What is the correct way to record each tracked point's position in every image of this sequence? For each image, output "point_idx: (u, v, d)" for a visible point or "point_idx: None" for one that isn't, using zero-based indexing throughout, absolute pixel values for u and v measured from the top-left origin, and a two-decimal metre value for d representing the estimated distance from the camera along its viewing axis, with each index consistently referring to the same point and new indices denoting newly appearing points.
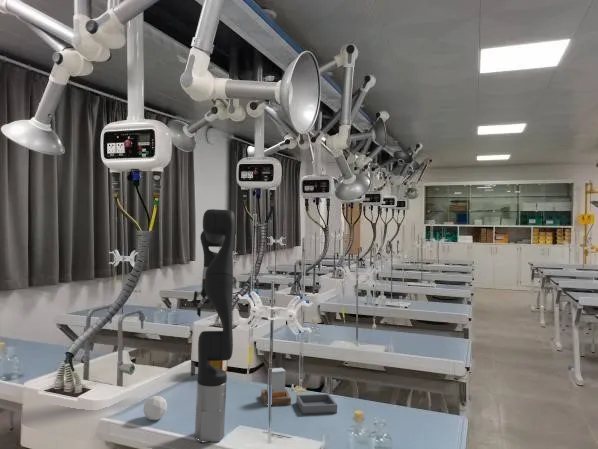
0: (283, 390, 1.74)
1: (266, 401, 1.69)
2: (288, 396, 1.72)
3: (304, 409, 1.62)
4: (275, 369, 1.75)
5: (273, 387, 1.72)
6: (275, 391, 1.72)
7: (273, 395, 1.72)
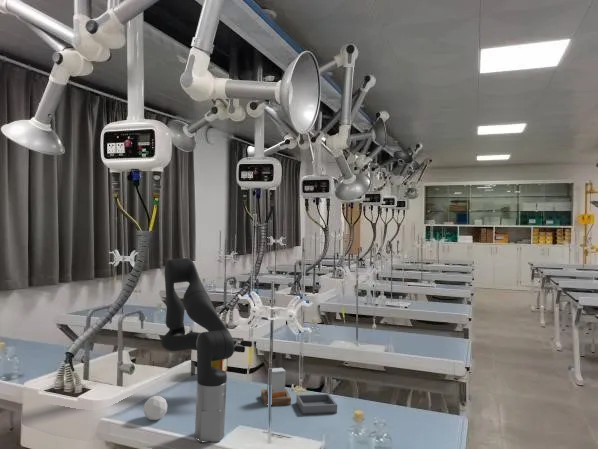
0: (283, 390, 1.74)
1: (266, 401, 1.69)
2: (288, 396, 1.72)
3: (304, 409, 1.62)
4: (275, 369, 1.75)
5: (273, 387, 1.72)
6: (275, 391, 1.72)
7: (273, 395, 1.72)
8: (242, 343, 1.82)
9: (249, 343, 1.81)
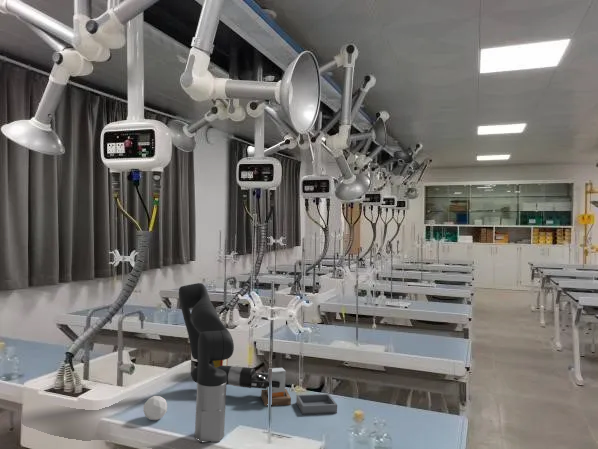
0: (283, 390, 1.74)
1: (266, 401, 1.69)
2: (288, 396, 1.72)
3: (304, 409, 1.62)
4: (275, 369, 1.75)
5: (273, 387, 1.72)
6: (275, 391, 1.72)
7: (273, 395, 1.72)
8: None
9: None
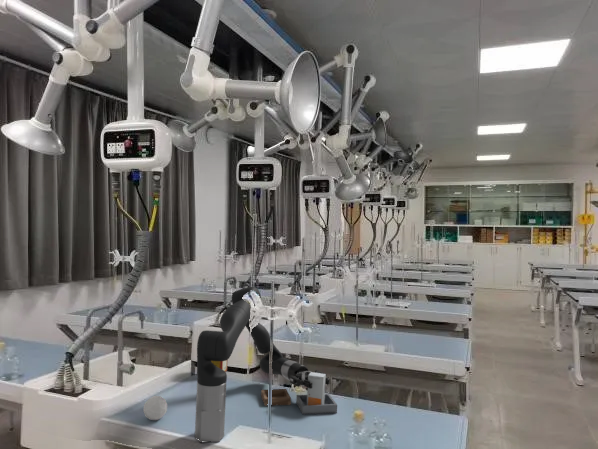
0: (320, 397, 1.66)
1: (266, 401, 1.69)
2: (288, 396, 1.72)
3: (304, 409, 1.62)
4: (315, 373, 1.69)
5: (309, 391, 1.67)
6: (311, 395, 1.67)
7: (309, 399, 1.67)
8: None
9: (326, 380, 1.70)
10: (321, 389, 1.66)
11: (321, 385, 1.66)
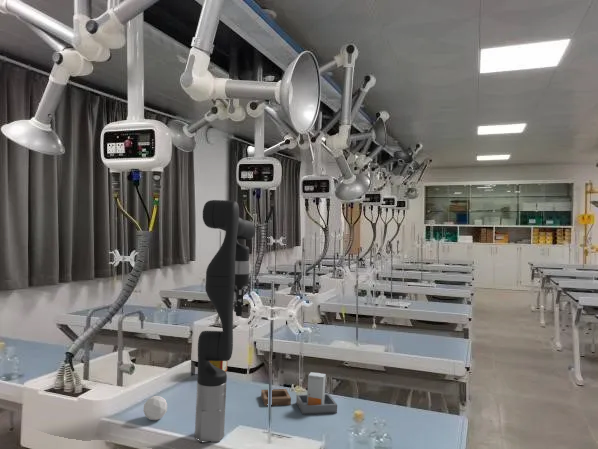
0: (320, 397, 1.66)
1: (266, 401, 1.69)
2: (288, 396, 1.72)
3: (304, 409, 1.62)
4: (315, 373, 1.69)
5: (309, 391, 1.67)
6: (311, 395, 1.67)
7: (309, 399, 1.67)
8: None
9: None
10: (321, 389, 1.66)
11: (321, 385, 1.66)
